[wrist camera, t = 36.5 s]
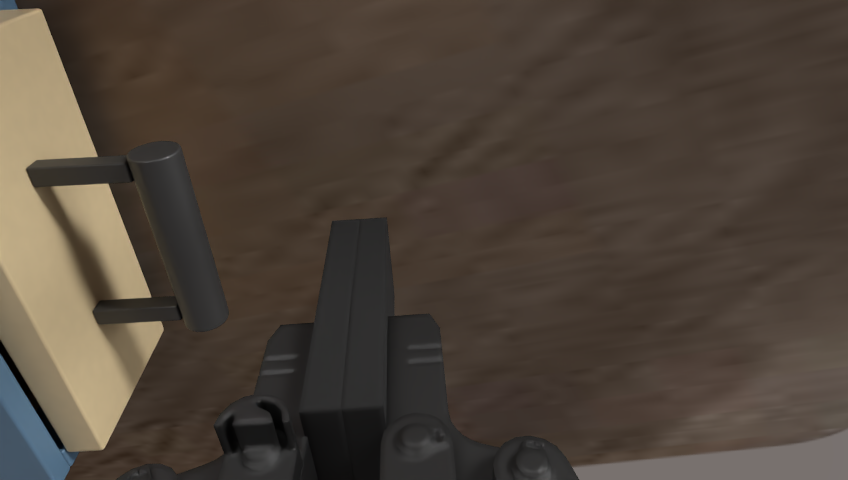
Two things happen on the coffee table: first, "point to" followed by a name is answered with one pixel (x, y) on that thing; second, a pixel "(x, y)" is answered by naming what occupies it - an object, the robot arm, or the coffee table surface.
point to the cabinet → (27, 424)
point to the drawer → (85, 247)
